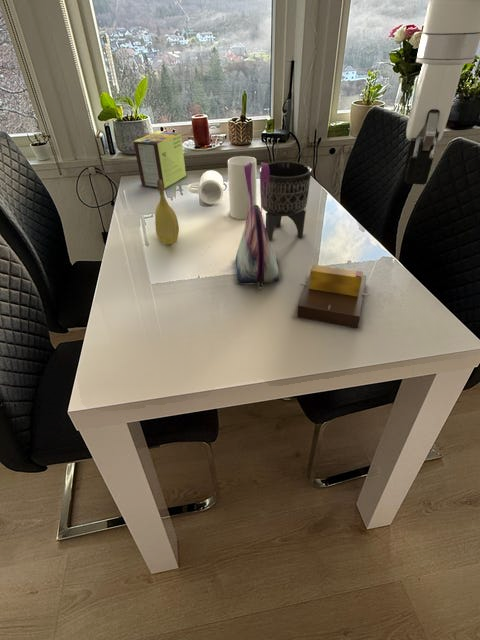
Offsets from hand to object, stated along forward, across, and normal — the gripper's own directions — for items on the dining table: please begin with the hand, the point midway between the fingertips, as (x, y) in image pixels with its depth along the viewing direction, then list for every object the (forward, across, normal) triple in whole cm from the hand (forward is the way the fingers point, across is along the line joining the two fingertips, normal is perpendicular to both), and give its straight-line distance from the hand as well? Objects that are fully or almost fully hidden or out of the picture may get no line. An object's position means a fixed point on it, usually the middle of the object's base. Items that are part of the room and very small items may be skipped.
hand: (414, 173), depth 63 cm
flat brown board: (+26, +4, -10) cm, 28 cm away
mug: (+26, -42, -59) cm, 77 cm away
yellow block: (+23, +4, -10) cm, 26 cm away
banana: (+26, -11, -57) cm, 64 cm away
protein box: (+26, -55, -82) cm, 102 cm away
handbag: (+26, -3, -29) cm, 39 cm away
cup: (+26, -34, -43) cm, 61 cm away
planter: (+26, -24, -28) cm, 45 cm away
